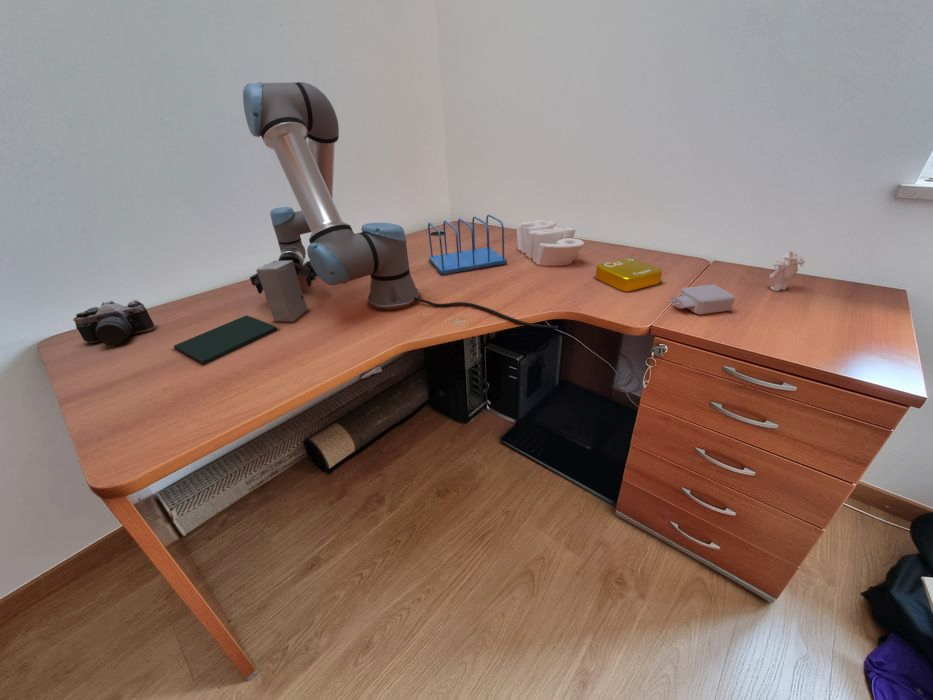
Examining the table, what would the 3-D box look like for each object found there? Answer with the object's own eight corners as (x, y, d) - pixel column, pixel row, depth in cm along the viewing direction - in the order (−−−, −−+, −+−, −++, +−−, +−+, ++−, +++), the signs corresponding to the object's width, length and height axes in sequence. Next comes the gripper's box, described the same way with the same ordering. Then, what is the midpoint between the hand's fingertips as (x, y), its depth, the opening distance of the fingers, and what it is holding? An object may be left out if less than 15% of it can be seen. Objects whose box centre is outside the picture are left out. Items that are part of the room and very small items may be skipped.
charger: (658, 304, 112) (707, 298, 113) (678, 319, 104) (730, 312, 106) (662, 288, 109) (711, 283, 111) (683, 302, 101) (735, 295, 103)
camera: (79, 356, 102) (56, 321, 97) (90, 339, 110) (69, 306, 104) (151, 340, 108) (134, 306, 102) (157, 325, 116) (140, 293, 110)
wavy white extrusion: (511, 243, 167) (511, 218, 161) (548, 239, 169) (549, 214, 164) (542, 271, 137) (543, 241, 132) (586, 266, 140) (589, 236, 135)
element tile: (625, 293, 119) (628, 278, 117) (592, 277, 131) (594, 263, 128) (662, 283, 124) (666, 268, 122) (627, 269, 136) (630, 255, 133)
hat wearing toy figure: (771, 293, 114) (787, 252, 108) (760, 288, 117) (774, 248, 111) (797, 289, 116) (814, 248, 109) (785, 284, 119) (801, 245, 113)
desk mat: (277, 330, 109) (276, 326, 109) (203, 365, 95) (202, 361, 95) (247, 318, 117) (246, 315, 116) (174, 348, 103) (173, 345, 102)
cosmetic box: (293, 323, 112) (277, 269, 104) (271, 321, 114) (253, 269, 106) (309, 310, 119) (295, 259, 111) (288, 309, 121) (272, 258, 113)
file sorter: (489, 251, 159) (488, 212, 151) (507, 264, 145) (507, 222, 137) (429, 261, 153) (425, 220, 145) (441, 275, 139) (437, 231, 131)
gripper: (331, 268, 137) (331, 291, 119) (254, 278, 132) (241, 304, 114) (326, 247, 133) (325, 267, 115) (246, 256, 128) (232, 279, 110)
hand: (283, 285), depth 115 cm, fingers open, 13 cm apart
